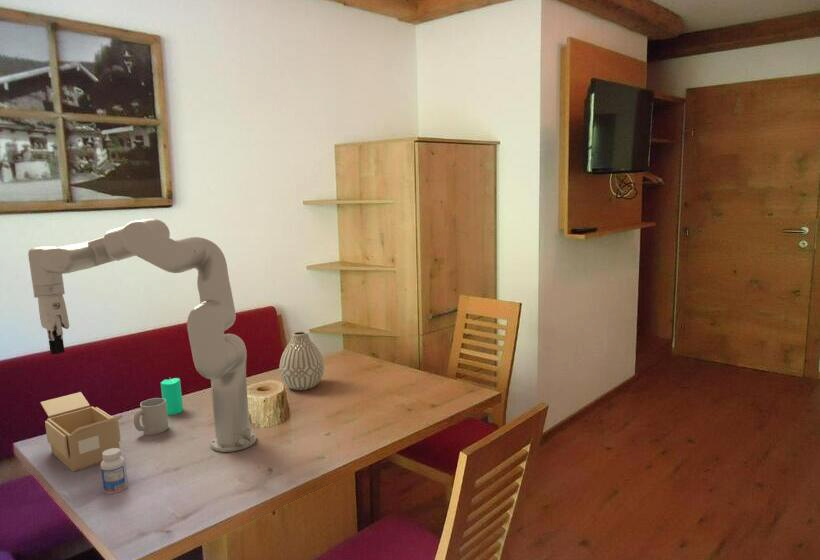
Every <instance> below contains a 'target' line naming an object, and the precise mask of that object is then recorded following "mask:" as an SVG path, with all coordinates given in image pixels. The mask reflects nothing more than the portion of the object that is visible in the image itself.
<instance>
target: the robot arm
mask: <svg viewBox="0 0 820 560" xmlns="http://www.w3.org/2000/svg"><path fill="white" fill-rule="evenodd" d="M170 236H171V232H170V229H169V227H168V225H167V224H166V223H165V222H164V221H162V220H160V219H157V218H147V219H139V220H134V221H130V222H128V223H127V224H125V226H122V227H121V226H120V227H117V228H113V229H110V230H108V231H106V232H105V234H104V235H103V236H102V237H99V238H96V239H93V240H89V241H85V242H81V243H75V244H69V245H63V246H57V247H56V246H53V245H52V246H51V245H50V246H48V245H47V246H37V247H36V246H35V247H32V248H30V249H29V250H28V254H27V255H28V261H29V262H28V263H29V268H30V276H31V278H30V279H31V283H32V289H33V292H32V293H33V297H34V298H37V303H38V313H39V320H40V324H41V327H42V328H43V329H45V330H46V333H47V338H48V346H49V351H50V354H52V355H57V354H63V353H64V352H65V346H64V337H63V335H64V332H63V329H66V330H68V329H69V328H70V323H69V316H68V311H67V305H66V302H65V299H64V295H65V293H66V292H65V286H64V284H65V283H64V278H63V274H71V273H75V272H78V271H83V270H87V269H88V270H89V269H91V268H94V267H98V266H101V265H105V264H108V263H109V264H110V263H111V262H115V261H117V262H119V261H122V260H126V259H129V258H132V257H138V258H139V259H142V260H144V261H146V262H148V263H149V264H151V265H153V266H155V267H157V268H159V269H161V270H162V271H165V272H168V273H171V274H180V273H185V272H187V271H190V270H193V269H194V270H195V269H196V270H197V282H196V283H197V290H198V296H199V303H198V304H197V305H196V306H194V307H193V308H192V309H191V310H190V312H189V314H188V316H187V321H186V330H187V334H188V340H189V345H190V350H191V354H192V355H191V356H192V361H193V364H194V367H195V369H196V371H197V373H198V374H199V375H201V376H202V377H203V378H205V379H208V380H210V385H211V386H210V387H211V388H210V389H211V398H212V399H211V400H212V410H213V411H212V412H213V413H212V414H213V421H214V424H213V425H214V434H215V436H214V437H213V438H211V440H210V448H211V449H212V450H214V451H216V452H221V453H222V452H223V453H230V452H238V451H241V450H244V449H247V448H249V447H251V446H253V445H254V444H255V443H256V442H257V434H256V433H255V432H253V431H251V427H250V426H251V424H250V423H251V422H250V412H249V402H248V401H249V400H248V398H249V397H248V386H247V357H248V356H247V355H248V354H247V348H246V347H247V346H246V345H245V342H244V340H243V339H242V338H241V337H240V336H238V335H236V334H235V333H234V334H233V333H225V331H227V330H229V328H231V327H233V325H234V323H235V321H236V318H237V316H236V315H237V314H236V313H237V312H236V308H235V303H234V298H233V297H234V296H233V291H232V287H231V282H230V277H229V271H228V264H227V260H226V258H225V255H224V253H223V251H222V249H221V248H220V247H219V246H218V245H217V244H216V243H215V242H213V241H211V240H209V239H207V238H204V237H199V236H191V237H185V238H180V239H175V240H174V239H172V238H171V237H170Z"/></svg>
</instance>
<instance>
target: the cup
mask: <svg viewBox="0 0 820 560" xmlns="http://www.w3.org/2000/svg"><path fill="white" fill-rule="evenodd" d="M139 406H140V409H138V410H137V411H136V412H135V413H134V416H133V425H134V428H135V429H136V430H137V431H138V432H143V433H144V434H145V435H150V436H151V435H152V436H153V435H159V434H163V433H164V432H166V431H168V429H169V419H168V418H169V417H168V416H169V415H167V407H166V400H165V399H163V398H162V397H153V398H149V399H146V400H143V401H141V402H140V404H139ZM140 418H141V423H142V424H141V423H140Z"/></svg>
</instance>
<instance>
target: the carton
mask: <svg viewBox="0 0 820 560" xmlns="http://www.w3.org/2000/svg"><path fill="white" fill-rule="evenodd" d="M110 418H114V417H113V416H112V415H111V414H108V413H107V412H106V411H104V410H103V409H101V408H99V407H98V406H96V407H95V406H89V407H86V408H82V409H78V410H75V411H71V412H67V413H64V414H60V415H56V416H52V417H48V418H46V420H45V421H44V423H45V424H44V426H45V432H46V439H47V443H49V444H50V449H51V453H52V454H53V455H54V456H55V457H56V458H57V459H58V460H59V461H61V463H63V464H64V465H65V466H66V467H67V468H69V469H70V470H71V471H72V472H76V471H81V470H83V469H85V468H89V467H92V466H94V465H95V466H96V465H97V464H101V462H102V461H103V458H102V453H103V452H104V451H105V450H108V449H111V448H119V449H120V442H121V441H122V440H121V431H120V422H119V420H118V421H116V422H114V423H111V424H108V425H104V426H101V427H98V428H94V429H91V430H87V431H84V432H81V433H77V434H74V435H72V434H71V433H72V432H73V431H75V430H76V429H77V428H79V427H83V426H86V425H89V424H93V423H96V422H100V421H103V420H107V419H110ZM120 450H121V449H120Z"/></svg>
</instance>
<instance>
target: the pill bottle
mask: <svg viewBox="0 0 820 560" xmlns="http://www.w3.org/2000/svg"><path fill="white" fill-rule="evenodd" d="M102 458H103V461H102V462H101V463H100V471H101V478H102V479H101V480H102V487H103V491H104V492H105V493H107V494H116V493H120V492H122V491H124V490H125V489H126V488H127V487H128V485H129V484H128V475H127V468H126V461H125V458H124V457H123V456H122V453H121V449H119V448H111V449H108V450H105V451H104V452H103V453H102Z"/></svg>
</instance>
